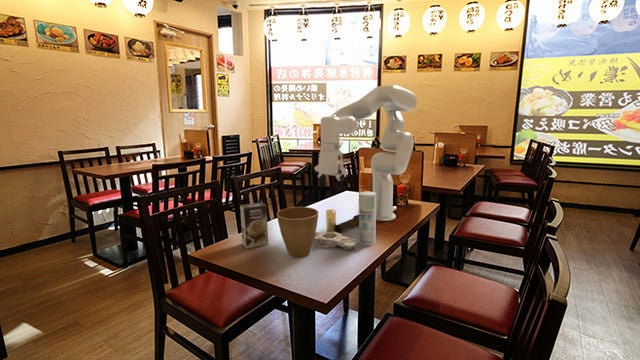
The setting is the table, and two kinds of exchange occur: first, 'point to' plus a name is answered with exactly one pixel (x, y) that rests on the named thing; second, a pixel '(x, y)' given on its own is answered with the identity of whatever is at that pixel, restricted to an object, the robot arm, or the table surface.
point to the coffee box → (254, 224)
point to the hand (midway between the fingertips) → (330, 188)
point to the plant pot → (298, 229)
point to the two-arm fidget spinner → (334, 240)
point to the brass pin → (331, 220)
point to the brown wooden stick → (347, 224)
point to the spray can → (367, 217)
